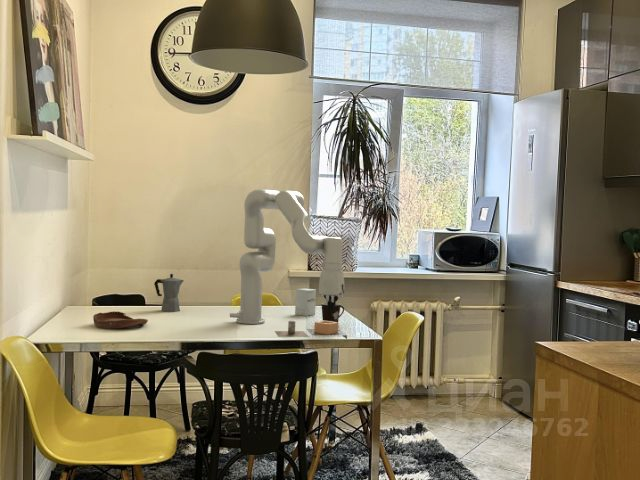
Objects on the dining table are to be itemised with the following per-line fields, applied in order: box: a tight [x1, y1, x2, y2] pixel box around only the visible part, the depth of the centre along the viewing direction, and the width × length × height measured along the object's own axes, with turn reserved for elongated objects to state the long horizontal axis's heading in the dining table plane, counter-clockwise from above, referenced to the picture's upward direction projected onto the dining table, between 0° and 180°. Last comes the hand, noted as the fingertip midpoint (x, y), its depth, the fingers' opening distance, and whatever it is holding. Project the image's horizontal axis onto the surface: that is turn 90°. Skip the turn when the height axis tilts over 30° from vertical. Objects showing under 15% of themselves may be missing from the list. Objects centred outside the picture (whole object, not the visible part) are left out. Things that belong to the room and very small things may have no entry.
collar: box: [313, 320, 339, 334], centre depth 273 cm, size 7×7×4 cm
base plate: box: [306, 323, 348, 340], centre depth 273 cm, size 14×14×5 cm
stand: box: [274, 320, 309, 338], centre depth 266 cm, size 12×12×6 cm
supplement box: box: [294, 287, 317, 317], centre depth 329 cm, size 7×7×13 cm
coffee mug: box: [320, 302, 345, 323], centre depth 297 cm, size 12×9×10 cm
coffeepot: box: [154, 273, 184, 313], centre depth 325 cm, size 15×9×18 cm, turn 129°
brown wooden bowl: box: [92, 311, 149, 329], centre depth 277 cm, size 22×20×5 cm
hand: (331, 311), depth 275 cm, fingers closed
